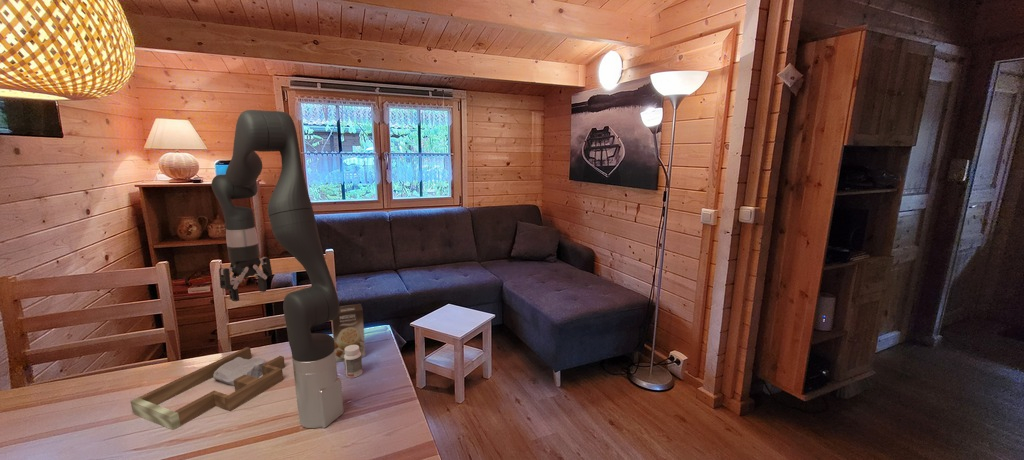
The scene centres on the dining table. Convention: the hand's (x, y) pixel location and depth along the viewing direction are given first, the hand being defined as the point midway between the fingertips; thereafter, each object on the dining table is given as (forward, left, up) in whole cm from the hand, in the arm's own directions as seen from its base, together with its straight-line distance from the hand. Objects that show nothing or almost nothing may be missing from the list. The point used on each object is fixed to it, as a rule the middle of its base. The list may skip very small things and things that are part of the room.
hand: (249, 295), depth 117 cm
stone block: (-2, +7, -22) cm, 24 cm away
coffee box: (-23, -14, -22) cm, 35 cm away
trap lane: (-5, +14, -22) cm, 26 cm away
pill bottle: (-32, -6, -22) cm, 39 cm away
